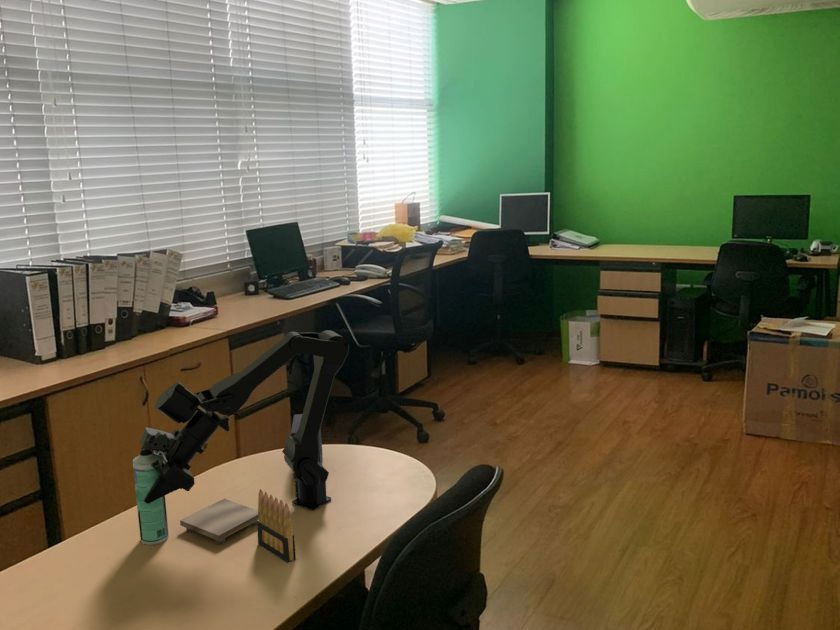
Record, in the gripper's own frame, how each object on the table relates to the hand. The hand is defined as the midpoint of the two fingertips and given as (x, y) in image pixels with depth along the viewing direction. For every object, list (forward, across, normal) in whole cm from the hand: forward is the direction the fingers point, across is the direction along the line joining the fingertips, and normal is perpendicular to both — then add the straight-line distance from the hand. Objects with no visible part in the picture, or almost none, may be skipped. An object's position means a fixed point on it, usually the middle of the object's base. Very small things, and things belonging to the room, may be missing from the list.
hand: (143, 496), depth 158 cm
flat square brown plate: (-4, +2, +17) cm, 18 cm away
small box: (-22, -18, +36) cm, 46 cm away
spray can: (+6, 0, +8) cm, 10 cm away
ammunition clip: (-8, +18, +22) cm, 30 cm away
